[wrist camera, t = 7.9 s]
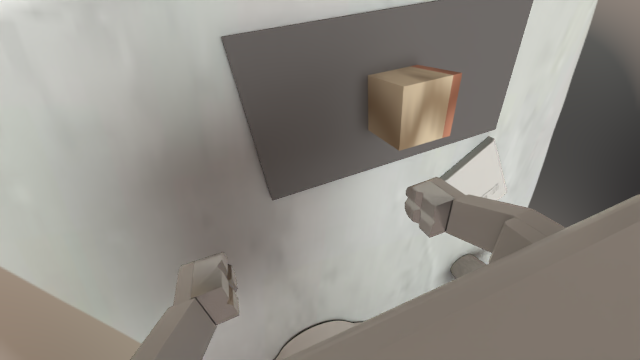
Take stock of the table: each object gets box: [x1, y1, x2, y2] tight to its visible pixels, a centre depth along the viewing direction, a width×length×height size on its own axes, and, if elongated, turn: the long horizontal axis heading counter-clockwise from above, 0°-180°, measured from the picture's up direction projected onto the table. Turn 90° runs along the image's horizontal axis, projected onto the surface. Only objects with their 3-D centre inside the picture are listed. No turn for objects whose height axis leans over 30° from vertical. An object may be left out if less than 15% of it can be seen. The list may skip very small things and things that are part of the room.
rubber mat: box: [222, 0, 533, 200], centre depth 23 cm, size 14×28×1 cm, turn 98°
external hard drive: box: [440, 137, 507, 201], centre depth 35 cm, size 2×8×12 cm
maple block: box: [368, 65, 462, 151], centre depth 21 cm, size 5×5×5 cm
